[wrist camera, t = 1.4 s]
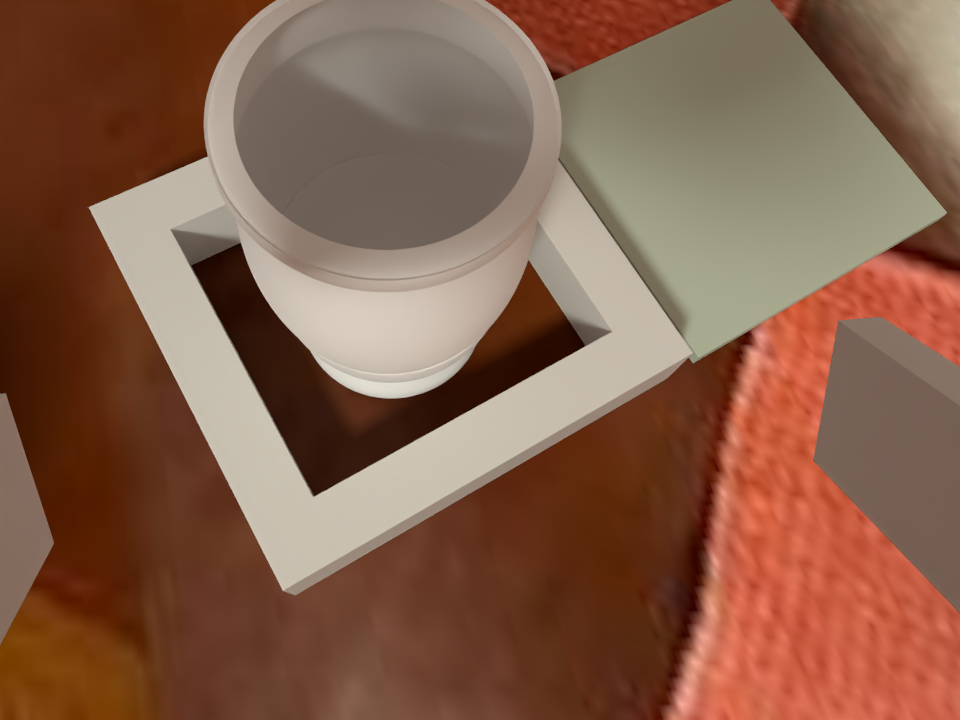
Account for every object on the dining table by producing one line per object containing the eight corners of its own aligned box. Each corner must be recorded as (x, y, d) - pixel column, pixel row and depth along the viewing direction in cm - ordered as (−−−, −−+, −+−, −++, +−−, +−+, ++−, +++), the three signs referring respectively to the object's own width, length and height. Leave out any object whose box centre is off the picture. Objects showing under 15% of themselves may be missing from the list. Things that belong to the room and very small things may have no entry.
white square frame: (116, 245, 37) (88, 207, 34) (470, 89, 41) (476, 42, 38) (295, 595, 33) (282, 590, 29) (667, 378, 37) (692, 353, 34)
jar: (306, 194, 39) (250, -61, 24) (517, 230, 39) (581, 0, 25) (254, 403, 35) (154, 246, 21) (487, 440, 35) (542, 310, 21)
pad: (514, 107, 41) (516, 97, 41) (754, -2, 45) (759, -13, 44) (692, 363, 38) (698, 357, 37) (937, 220, 41) (947, 212, 41)
